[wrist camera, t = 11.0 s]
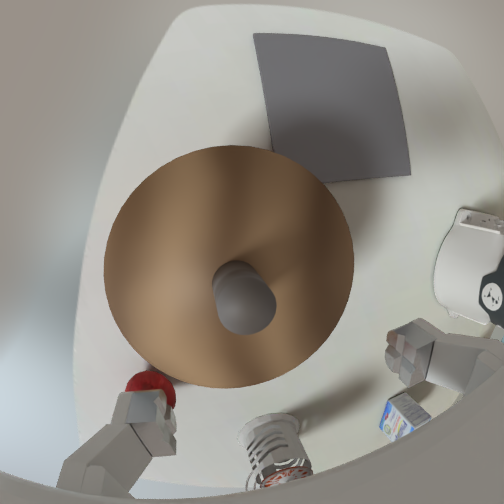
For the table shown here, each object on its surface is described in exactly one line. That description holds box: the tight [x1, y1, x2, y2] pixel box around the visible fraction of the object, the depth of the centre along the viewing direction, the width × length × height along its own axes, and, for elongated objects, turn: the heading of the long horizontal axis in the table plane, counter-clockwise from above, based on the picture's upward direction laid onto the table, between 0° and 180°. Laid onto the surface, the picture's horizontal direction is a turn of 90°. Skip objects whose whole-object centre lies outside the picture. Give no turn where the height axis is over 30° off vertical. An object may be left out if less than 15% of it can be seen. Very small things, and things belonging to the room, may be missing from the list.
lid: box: [104, 145, 354, 388], centre depth 16 cm, size 17×17×5 cm
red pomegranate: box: [125, 371, 176, 409], centre depth 26 cm, size 6×6×8 cm
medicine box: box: [379, 392, 432, 442], centre depth 37 cm, size 8×4×9 cm, turn 3°
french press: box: [237, 413, 313, 492], centre depth 24 cm, size 10×12×25 cm
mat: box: [253, 33, 411, 183], centre depth 27 cm, size 18×18×1 cm
